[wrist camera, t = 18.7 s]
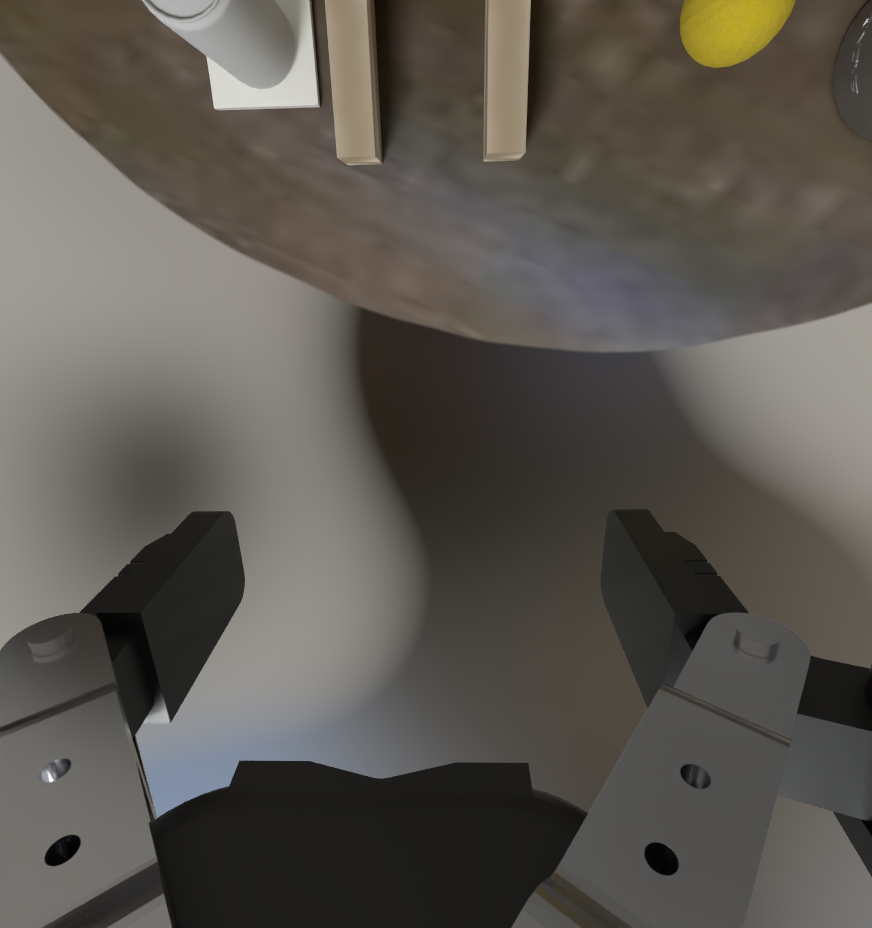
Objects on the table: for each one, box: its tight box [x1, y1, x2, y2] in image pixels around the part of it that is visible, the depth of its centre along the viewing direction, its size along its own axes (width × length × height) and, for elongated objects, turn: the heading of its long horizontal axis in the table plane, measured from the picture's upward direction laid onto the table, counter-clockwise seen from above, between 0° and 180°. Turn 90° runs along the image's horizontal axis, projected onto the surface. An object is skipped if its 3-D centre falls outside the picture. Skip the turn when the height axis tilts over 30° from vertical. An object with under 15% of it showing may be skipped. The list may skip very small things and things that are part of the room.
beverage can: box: [142, 0, 295, 89], centre depth 30 cm, size 5×5×12 cm
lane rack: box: [325, 0, 531, 165], centre depth 34 cm, size 12×12×4 cm
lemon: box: [680, 0, 796, 68], centre depth 32 cm, size 6×6×8 cm
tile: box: [207, 0, 320, 110], centre depth 36 cm, size 7×7×1 cm
